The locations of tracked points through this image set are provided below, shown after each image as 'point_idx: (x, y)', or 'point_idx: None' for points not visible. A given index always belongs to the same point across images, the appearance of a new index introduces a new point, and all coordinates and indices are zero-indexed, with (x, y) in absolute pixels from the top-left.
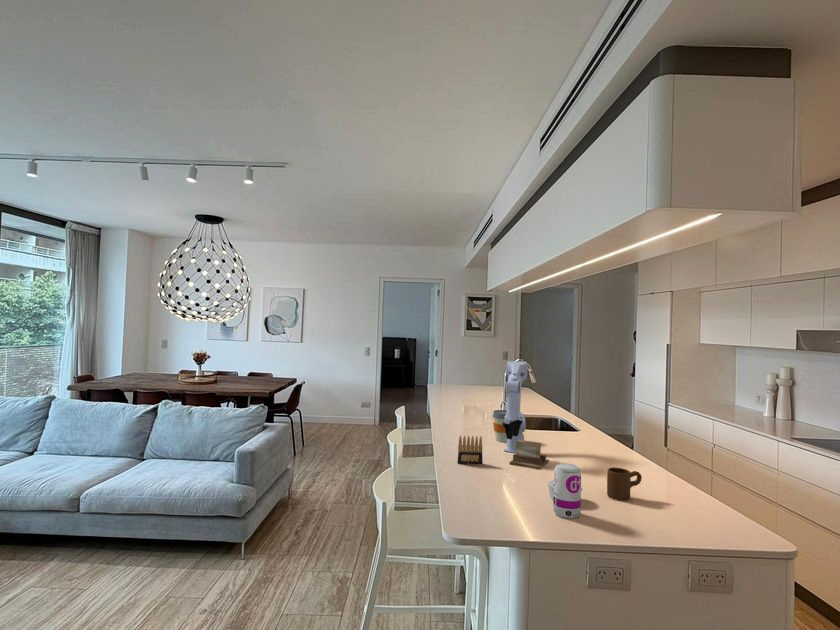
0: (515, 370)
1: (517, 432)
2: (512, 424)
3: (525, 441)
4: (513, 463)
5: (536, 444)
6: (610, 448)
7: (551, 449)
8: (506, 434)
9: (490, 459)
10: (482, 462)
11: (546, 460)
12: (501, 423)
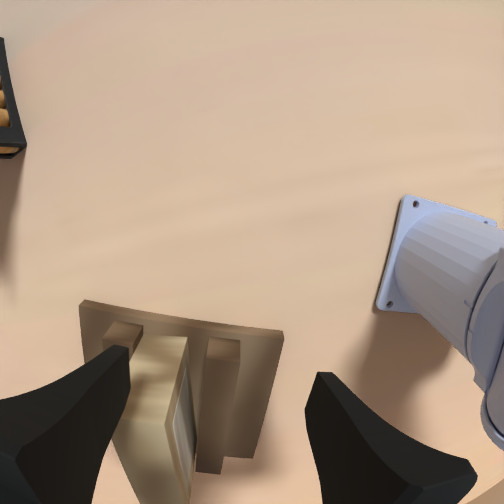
0: None
1: (313, 441)
2: None
3: (163, 466)
4: (82, 325)
5: (141, 500)
6: (482, 483)
7: (480, 397)
8: (84, 367)
9: (127, 157)
10: (4, 158)
11: (233, 453)
12: None
